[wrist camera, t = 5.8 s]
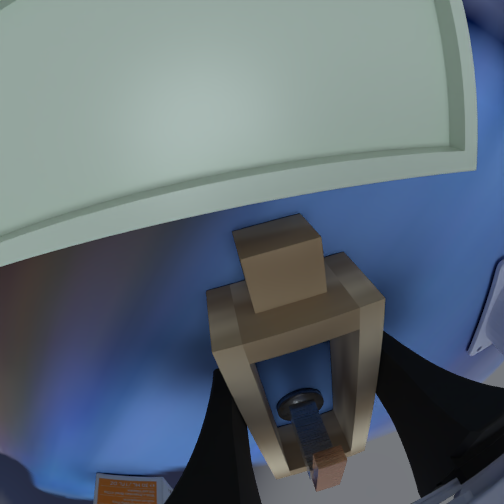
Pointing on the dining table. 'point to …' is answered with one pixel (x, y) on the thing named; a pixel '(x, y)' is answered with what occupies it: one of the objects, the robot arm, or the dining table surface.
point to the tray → (218, 107)
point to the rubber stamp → (313, 437)
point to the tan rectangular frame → (297, 333)
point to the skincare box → (130, 489)
